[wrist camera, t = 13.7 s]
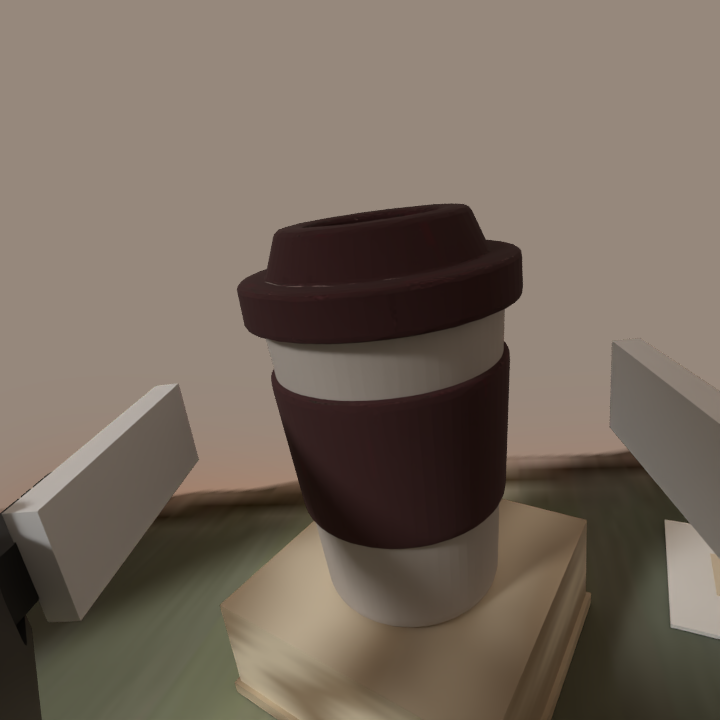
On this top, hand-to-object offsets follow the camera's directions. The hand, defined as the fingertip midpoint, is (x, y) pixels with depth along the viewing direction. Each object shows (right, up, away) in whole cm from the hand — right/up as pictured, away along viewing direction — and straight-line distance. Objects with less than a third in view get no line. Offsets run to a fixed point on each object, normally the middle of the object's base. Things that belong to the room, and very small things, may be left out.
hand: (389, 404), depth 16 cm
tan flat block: (+2, -12, +9) cm, 15 cm away
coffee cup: (+1, -8, +7) cm, 11 cm away
